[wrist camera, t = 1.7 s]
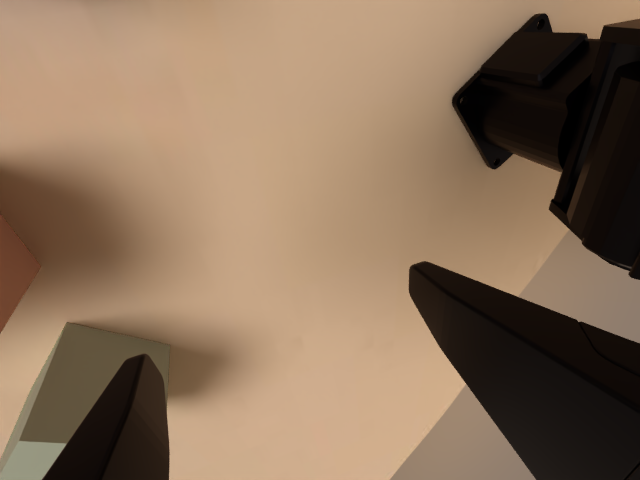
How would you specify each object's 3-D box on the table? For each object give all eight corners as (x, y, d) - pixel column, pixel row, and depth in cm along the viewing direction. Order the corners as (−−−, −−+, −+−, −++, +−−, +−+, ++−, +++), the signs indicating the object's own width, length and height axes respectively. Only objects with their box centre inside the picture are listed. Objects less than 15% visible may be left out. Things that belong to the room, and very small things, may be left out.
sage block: (170, 344, 23) (164, 448, 17) (131, 402, 24) (115, 515, 19) (66, 321, 20) (18, 440, 14) (30, 390, 21) (-27, 522, 16)
